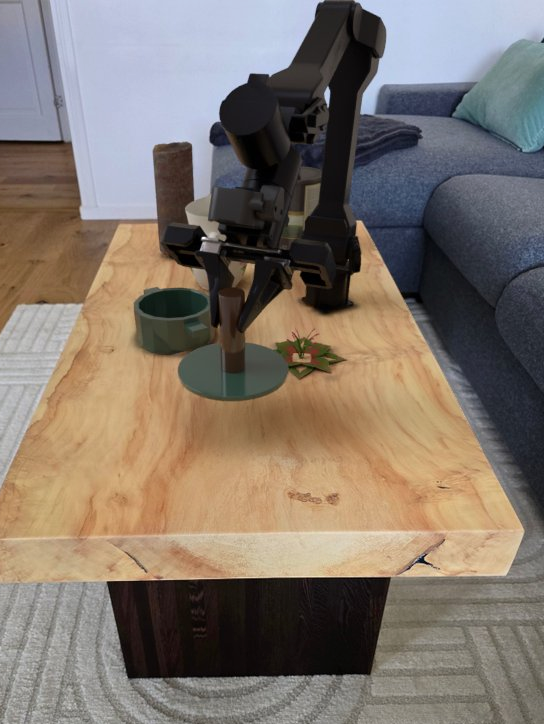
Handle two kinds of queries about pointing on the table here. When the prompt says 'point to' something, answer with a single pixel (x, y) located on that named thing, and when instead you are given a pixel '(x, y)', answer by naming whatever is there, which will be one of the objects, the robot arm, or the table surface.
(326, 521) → the table surface
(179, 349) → the pot
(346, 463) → the table surface
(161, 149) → the candle
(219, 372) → the lid
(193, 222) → the pitcher
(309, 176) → the coffee can
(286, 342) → the lily flower
